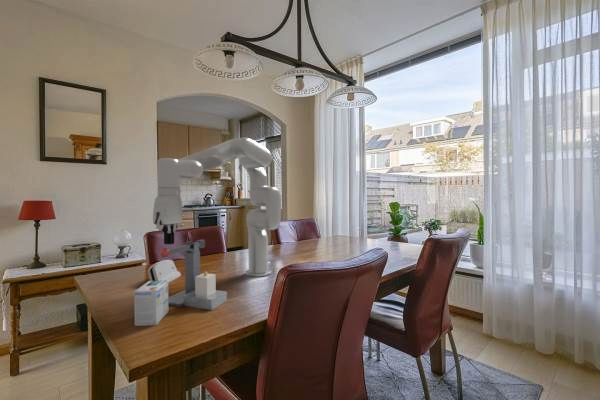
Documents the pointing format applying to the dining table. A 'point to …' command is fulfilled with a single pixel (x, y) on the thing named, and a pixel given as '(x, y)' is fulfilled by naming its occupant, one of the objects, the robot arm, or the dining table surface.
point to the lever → (180, 248)
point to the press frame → (188, 294)
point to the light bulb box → (151, 303)
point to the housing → (205, 284)
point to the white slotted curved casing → (163, 271)
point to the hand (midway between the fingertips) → (169, 243)
